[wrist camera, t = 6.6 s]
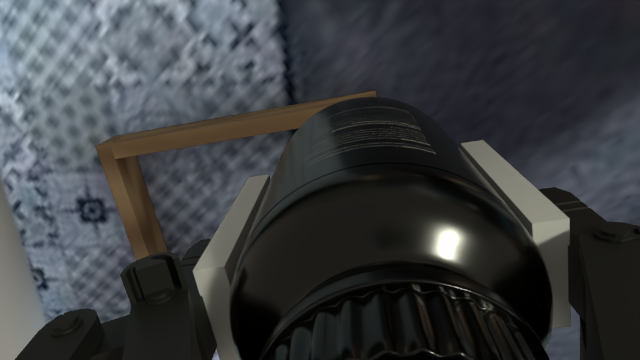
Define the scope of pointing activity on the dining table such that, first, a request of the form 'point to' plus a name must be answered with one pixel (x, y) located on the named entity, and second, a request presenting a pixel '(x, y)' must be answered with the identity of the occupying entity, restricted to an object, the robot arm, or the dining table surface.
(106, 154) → the bay
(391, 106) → the supplement bottle
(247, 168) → the dining table surface
